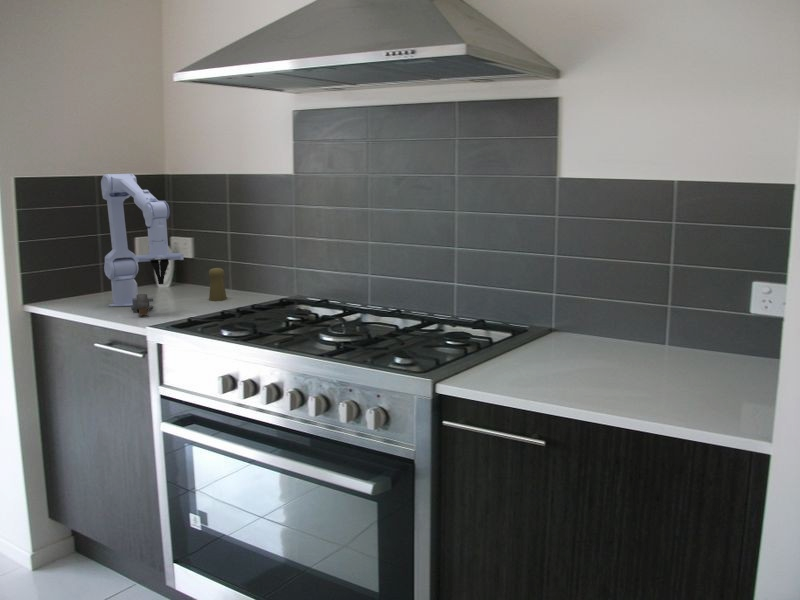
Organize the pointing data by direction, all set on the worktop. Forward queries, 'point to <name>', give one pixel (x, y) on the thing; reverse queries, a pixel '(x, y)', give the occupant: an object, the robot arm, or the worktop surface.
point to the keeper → (150, 299)
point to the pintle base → (147, 308)
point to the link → (142, 303)
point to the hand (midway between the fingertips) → (161, 283)
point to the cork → (217, 285)
